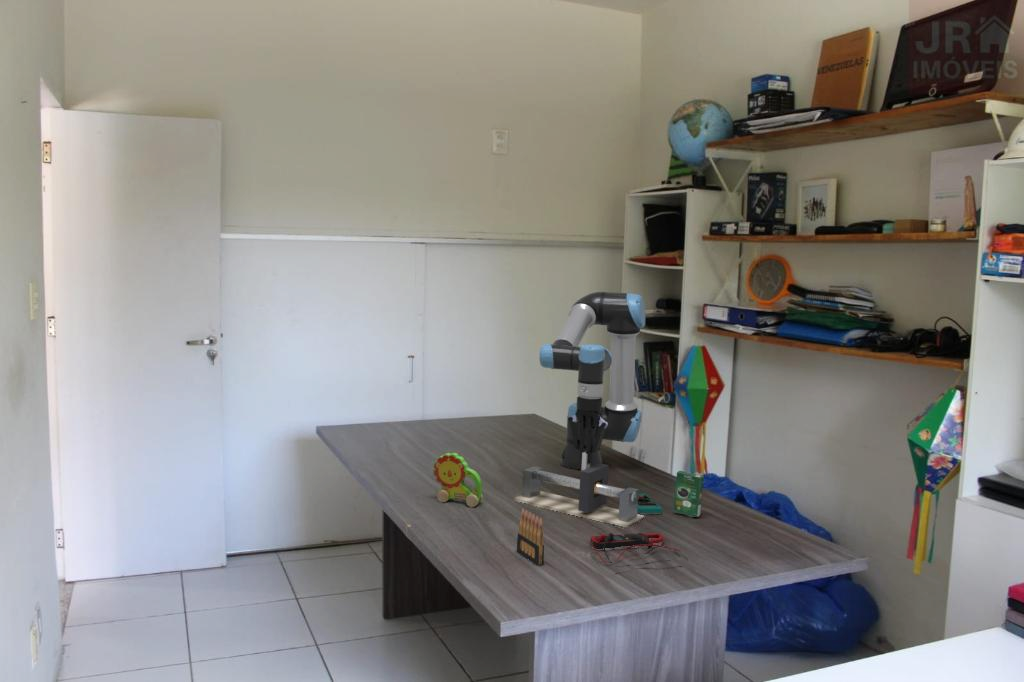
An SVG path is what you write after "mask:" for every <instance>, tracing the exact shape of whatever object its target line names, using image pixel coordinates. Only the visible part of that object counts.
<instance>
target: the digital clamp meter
mask: <svg viewBox="0 0 1024 682" xmlns="http://www.w3.org/2000/svg"><path fill="white" fill-rule="evenodd" d="M649 538H657V539H651V540H649ZM664 540H665V539H664V535H663V534H662V533H659V532H656V533H655V532H654V533H652V532H651V533H641V532H638V533H625V534H624V533H620V534H614V533H612V532H610V533H609V534H607V535H606V534H605V533H601V534H600V535H592V536H591V537H590V544H589V545H591V546H592V547H593V548H594V549H593V550H594V551H595V553H596V554H597V555H598V557H599V559H600V560H601V561H602V562H603V563H604V564H606V563H608V562H606V561H605V560H604V559H603V558H602V556H601V555H600V554H599V551H596V549H603V548H604V554H605V556H606V558H607V559H608V560H609V559H610V558H609V556H608V553H607V552H606V551H605V548H615V547H621V546H630V547H627V548H626V549H623V551H622V552H621V554H620V555H619V556H618V557H617V559H618V560H619V559H620V558H621V557H622V556H623V555H624V553H625V552H626V550H629V549H628V548H631V547H635V546H644V545H646V546H658V547H663V545H661V546H659V545H653V543H659V542H662V541H663V542H664ZM633 545H634V546H633ZM591 546H590V547H591ZM668 547H669V546H664V547H663V549H667V548H668ZM595 548H596V549H595ZM655 548H656V547H653V548H652V549H650V550H648V551H647V552H645V553H644V554H645V555H648V554H649V553H650V551H651V552H653V549H654V550H655ZM672 549H674V550H675V551H677V550H678V551H677V552H680V551H681V550H680V549H677V548H672V547H670V548H668V549H667V550H672ZM674 550H673V551H674ZM617 559H615V560H617ZM618 560H617V561H618Z"/></svg>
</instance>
